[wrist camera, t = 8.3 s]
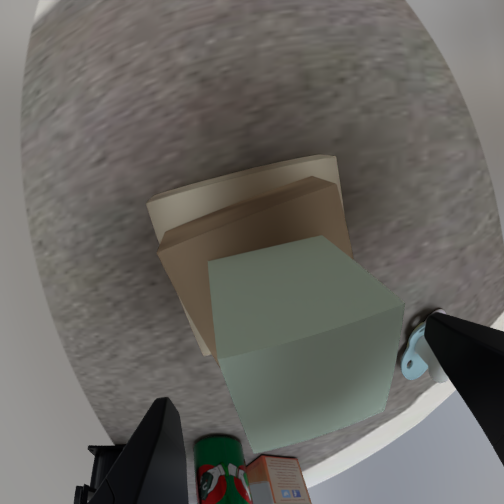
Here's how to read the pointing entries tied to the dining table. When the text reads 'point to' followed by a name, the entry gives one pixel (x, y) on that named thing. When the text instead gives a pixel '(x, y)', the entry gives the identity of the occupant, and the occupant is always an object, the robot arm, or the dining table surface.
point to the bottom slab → (232, 196)
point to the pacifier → (421, 357)
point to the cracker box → (277, 481)
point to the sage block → (302, 340)
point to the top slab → (248, 239)
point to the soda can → (221, 471)
